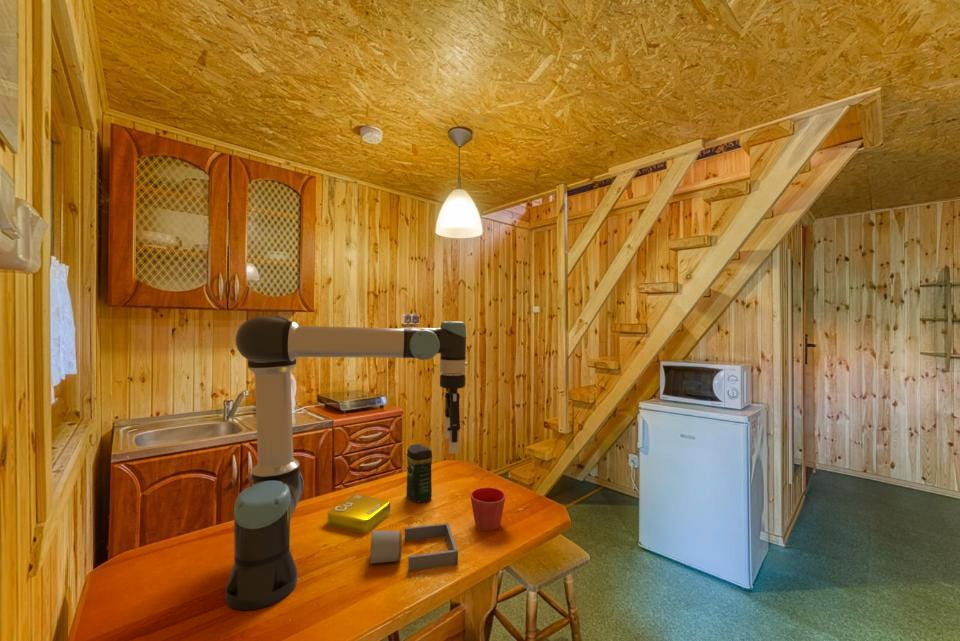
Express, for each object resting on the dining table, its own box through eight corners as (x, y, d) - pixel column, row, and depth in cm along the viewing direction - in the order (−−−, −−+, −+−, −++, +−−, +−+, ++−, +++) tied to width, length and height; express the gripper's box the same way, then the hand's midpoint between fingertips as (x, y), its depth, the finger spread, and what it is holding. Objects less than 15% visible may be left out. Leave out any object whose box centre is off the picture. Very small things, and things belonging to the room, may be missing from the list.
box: (408, 571, 105) (408, 557, 105) (404, 539, 120) (404, 527, 120) (457, 564, 108) (457, 551, 108) (448, 534, 123) (448, 523, 123)
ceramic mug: (402, 566, 107) (402, 536, 107) (369, 570, 105) (369, 540, 105) (401, 545, 117) (401, 518, 117) (371, 547, 116) (372, 520, 116)
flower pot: (486, 538, 121) (487, 505, 121) (463, 523, 129) (463, 493, 129) (512, 526, 128) (512, 495, 128) (488, 513, 136) (488, 484, 136)
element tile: (365, 536, 122) (365, 519, 122) (324, 526, 128) (324, 511, 128) (392, 513, 136) (392, 499, 136) (355, 505, 142) (355, 491, 142)
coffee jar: (435, 500, 146) (435, 448, 145) (414, 505, 141) (414, 451, 141) (423, 490, 154) (424, 440, 154) (403, 495, 149) (404, 444, 149)
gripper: (471, 380, 110) (469, 459, 110) (460, 368, 134) (459, 433, 134) (443, 380, 108) (441, 460, 109) (437, 368, 133) (436, 433, 133)
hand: (451, 445), depth 122 cm, fingers open, 13 cm apart
